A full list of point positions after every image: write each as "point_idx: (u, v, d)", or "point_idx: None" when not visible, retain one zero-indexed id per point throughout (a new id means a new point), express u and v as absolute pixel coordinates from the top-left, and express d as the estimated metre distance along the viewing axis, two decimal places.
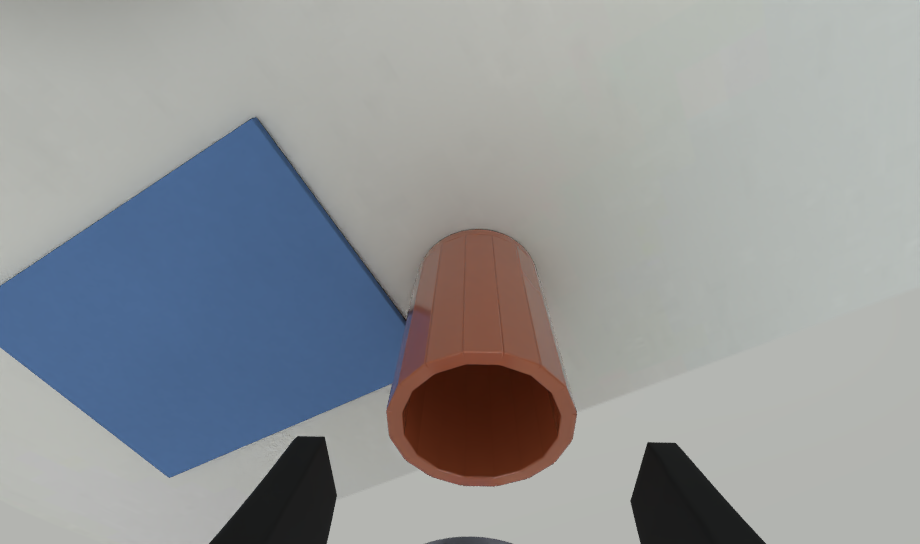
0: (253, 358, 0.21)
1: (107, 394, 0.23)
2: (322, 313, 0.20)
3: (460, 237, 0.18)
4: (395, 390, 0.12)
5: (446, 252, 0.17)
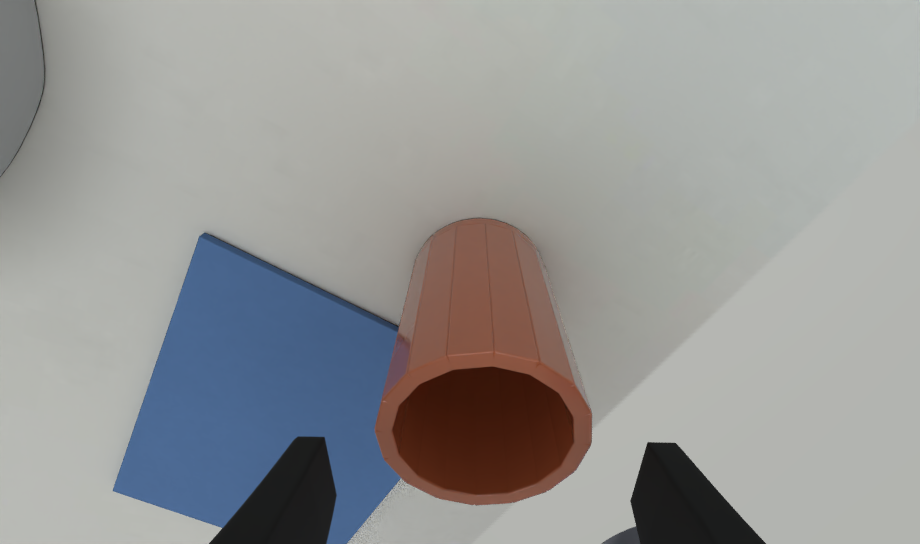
0: (328, 436, 0.22)
1: None
2: (357, 372, 0.20)
3: (428, 244, 0.16)
4: (377, 436, 0.11)
5: (416, 266, 0.16)
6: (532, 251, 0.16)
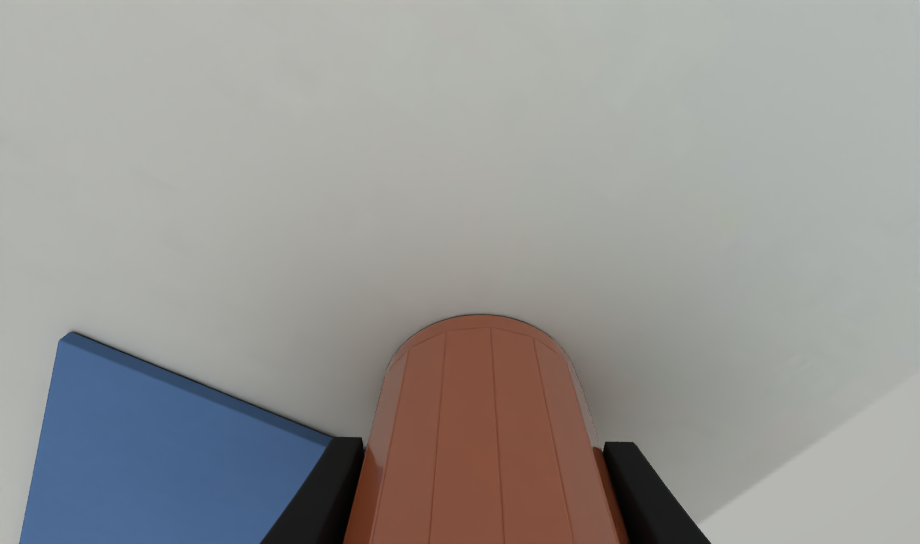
0: None
1: None
2: None
3: (403, 356, 0.11)
4: None
5: (384, 397, 0.10)
6: (565, 374, 0.10)
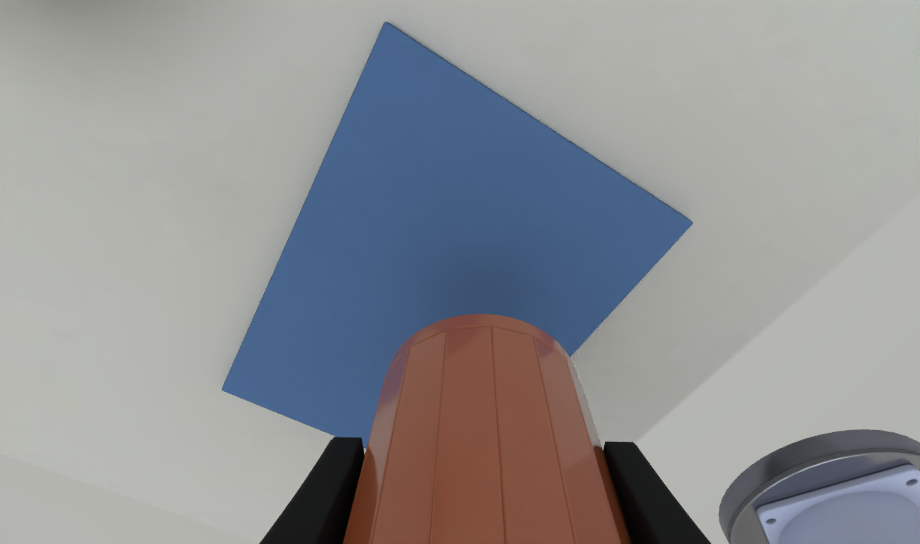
0: (486, 312, 0.19)
1: (366, 415, 0.22)
2: (540, 221, 0.17)
3: (403, 355, 0.11)
4: None
5: (384, 396, 0.10)
6: (565, 373, 0.10)
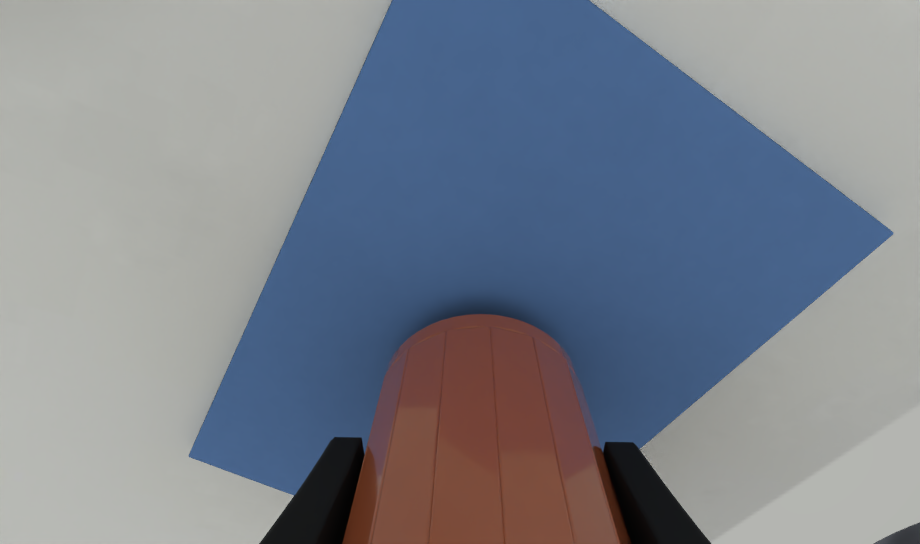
0: None
1: None
2: (660, 229, 0.11)
3: (403, 355, 0.11)
4: None
5: (383, 397, 0.10)
6: (565, 373, 0.10)
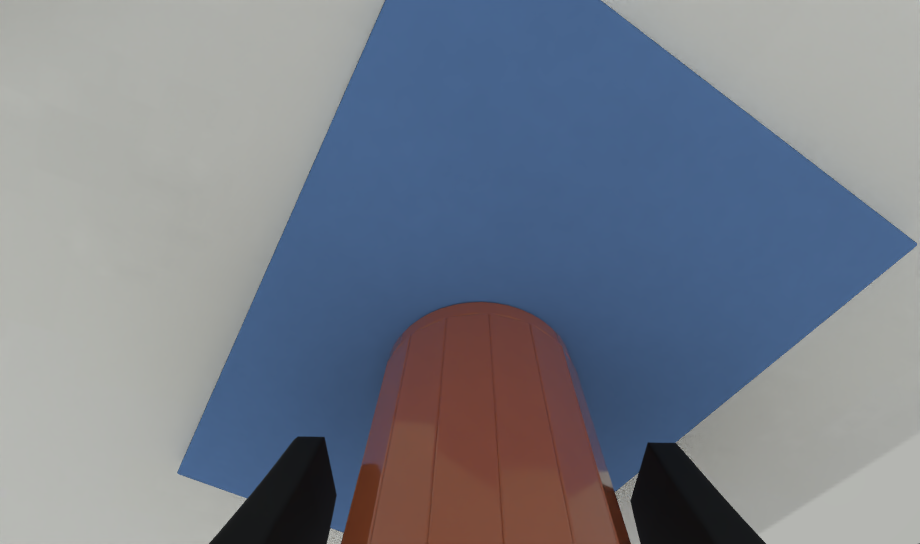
0: None
1: None
2: (671, 240, 0.10)
3: (405, 341, 0.11)
4: None
5: (387, 380, 0.11)
6: (560, 358, 0.11)
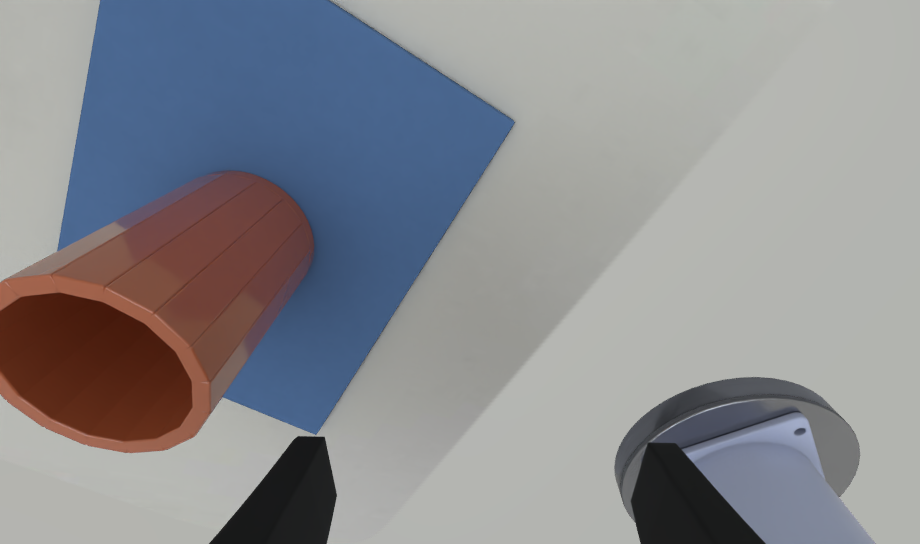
0: None
1: None
2: (346, 120, 0.15)
3: None
4: None
5: None
6: (270, 202, 0.15)
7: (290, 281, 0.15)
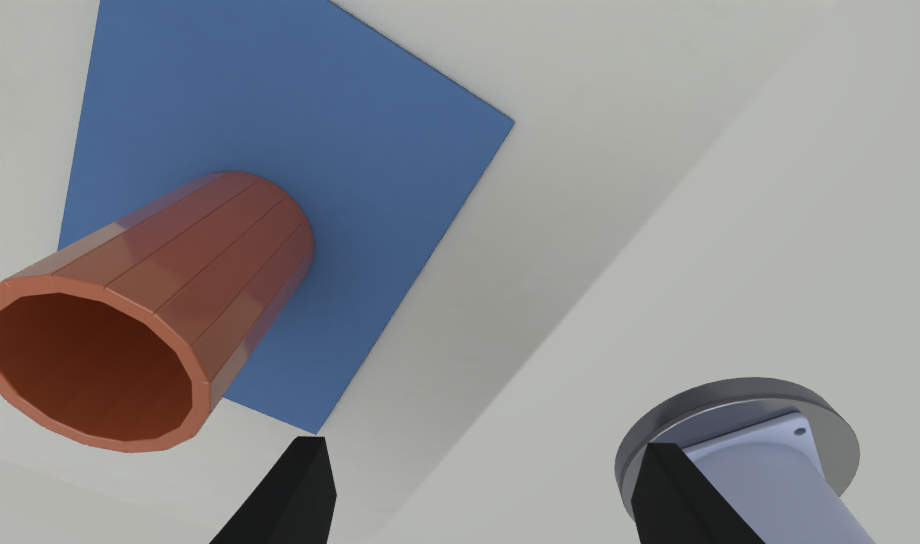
0: None
1: None
2: (346, 120, 0.15)
3: None
4: None
5: None
6: (270, 202, 0.15)
7: (290, 281, 0.15)
